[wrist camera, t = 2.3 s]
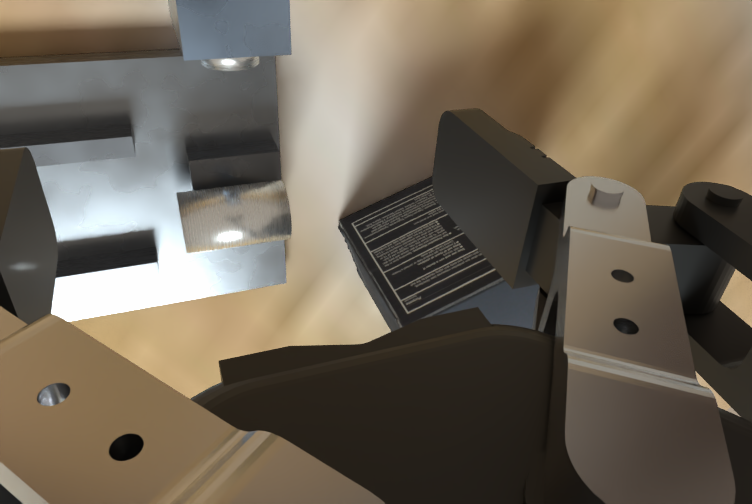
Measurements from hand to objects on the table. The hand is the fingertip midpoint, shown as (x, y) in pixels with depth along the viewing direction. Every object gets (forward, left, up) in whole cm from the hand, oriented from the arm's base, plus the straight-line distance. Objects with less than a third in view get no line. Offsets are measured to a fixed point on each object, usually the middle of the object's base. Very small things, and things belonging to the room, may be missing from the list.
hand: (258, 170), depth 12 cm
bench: (+7, +10, -19) cm, 22 cm away
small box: (-13, +15, -19) cm, 28 cm away
